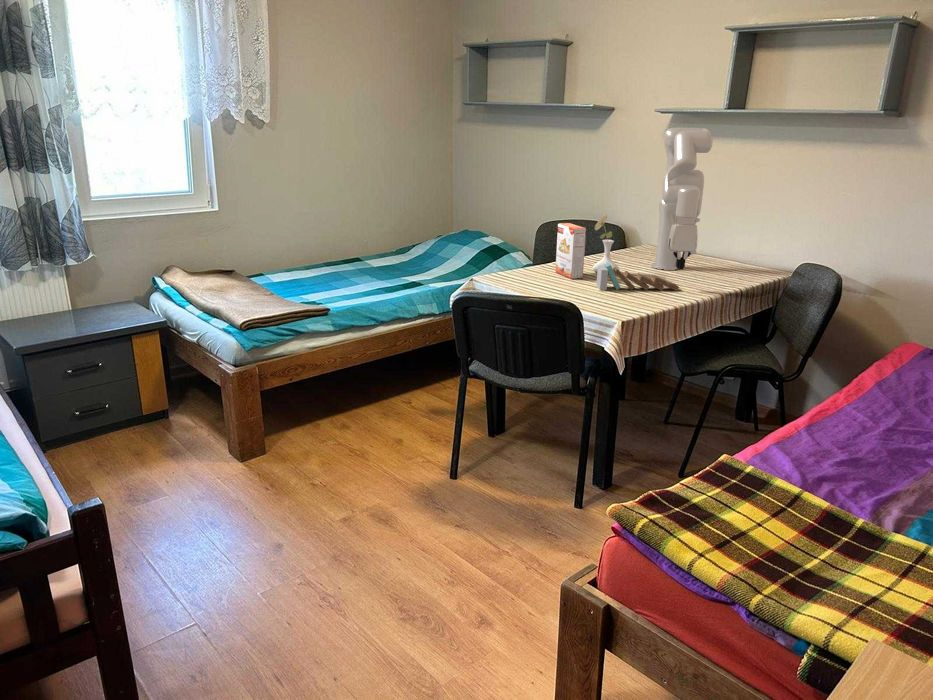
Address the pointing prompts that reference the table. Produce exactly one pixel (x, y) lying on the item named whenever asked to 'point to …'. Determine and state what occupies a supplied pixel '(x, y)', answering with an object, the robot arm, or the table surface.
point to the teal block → (612, 276)
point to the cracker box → (570, 250)
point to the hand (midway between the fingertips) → (679, 269)
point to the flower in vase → (607, 246)
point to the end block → (602, 277)
